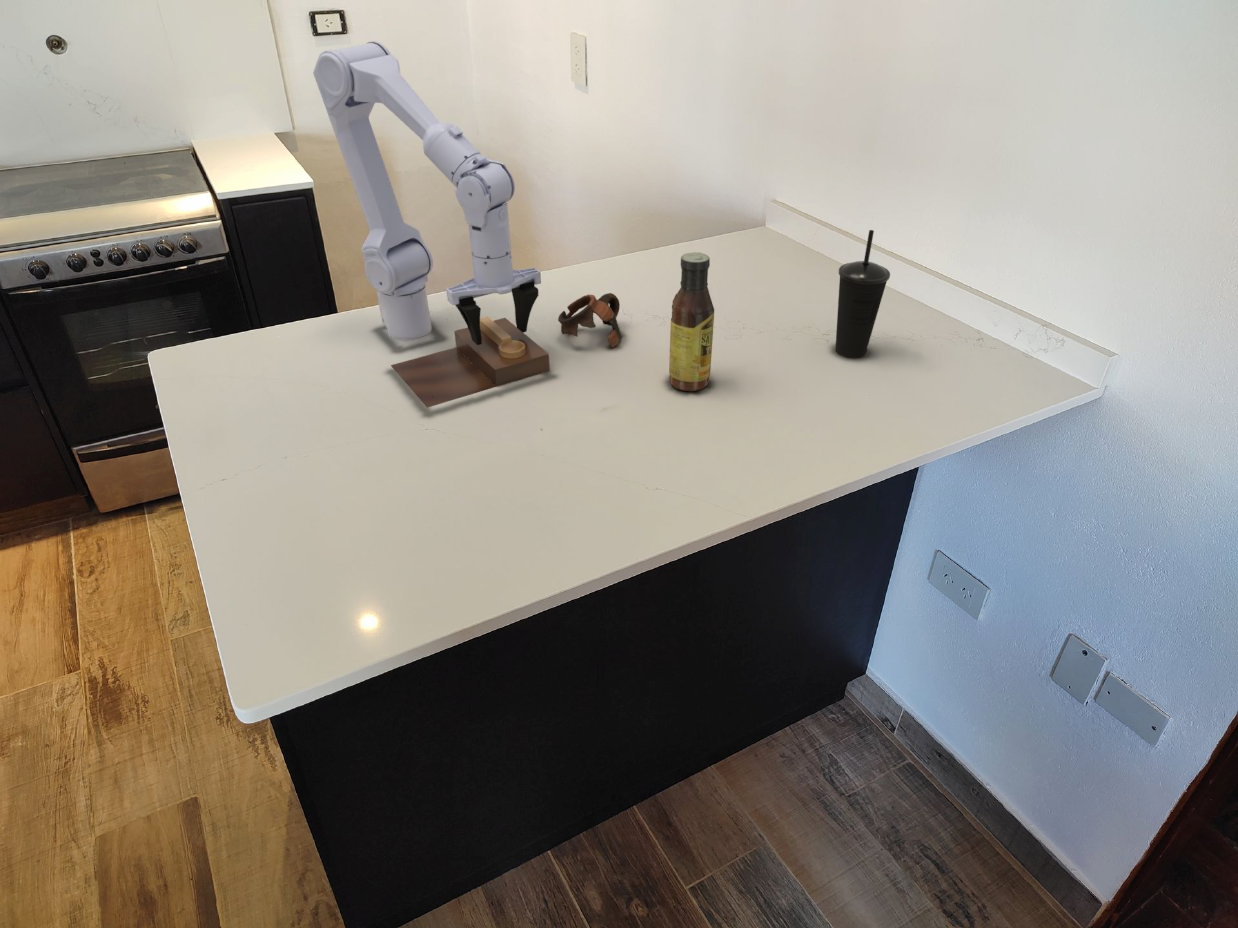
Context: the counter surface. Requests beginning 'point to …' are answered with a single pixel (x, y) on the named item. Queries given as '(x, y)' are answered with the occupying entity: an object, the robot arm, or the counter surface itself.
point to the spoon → (502, 339)
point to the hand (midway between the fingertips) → (499, 336)
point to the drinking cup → (859, 303)
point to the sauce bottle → (691, 326)
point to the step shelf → (470, 367)
